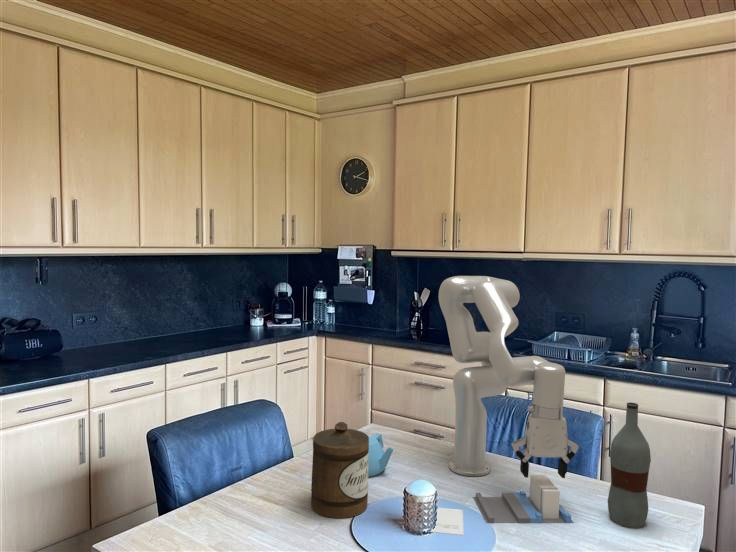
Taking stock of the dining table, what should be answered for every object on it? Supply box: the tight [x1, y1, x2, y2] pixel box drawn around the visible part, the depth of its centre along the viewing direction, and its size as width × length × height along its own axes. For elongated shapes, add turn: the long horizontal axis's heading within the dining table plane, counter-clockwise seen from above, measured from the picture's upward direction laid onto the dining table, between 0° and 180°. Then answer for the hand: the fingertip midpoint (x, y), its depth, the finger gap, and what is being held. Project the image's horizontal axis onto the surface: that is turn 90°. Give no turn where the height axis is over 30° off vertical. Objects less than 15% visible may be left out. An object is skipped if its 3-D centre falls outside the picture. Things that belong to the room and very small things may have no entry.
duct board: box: [472, 490, 575, 524], centre depth 140 cm, size 14×22×3 cm, turn 92°
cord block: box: [529, 474, 561, 519], centre depth 141 cm, size 10×4×7 cm, turn 2°
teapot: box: [366, 432, 394, 478], centre depth 165 cm, size 15×15×11 cm
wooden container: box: [310, 421, 370, 519], centre depth 142 cm, size 15×15×22 cm
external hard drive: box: [429, 507, 465, 536], centre depth 134 cm, size 2×8×12 cm
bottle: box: [607, 401, 652, 529], centre depth 137 cm, size 9×9×30 cm
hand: (543, 475), depth 141 cm, fingers open, 9 cm apart
